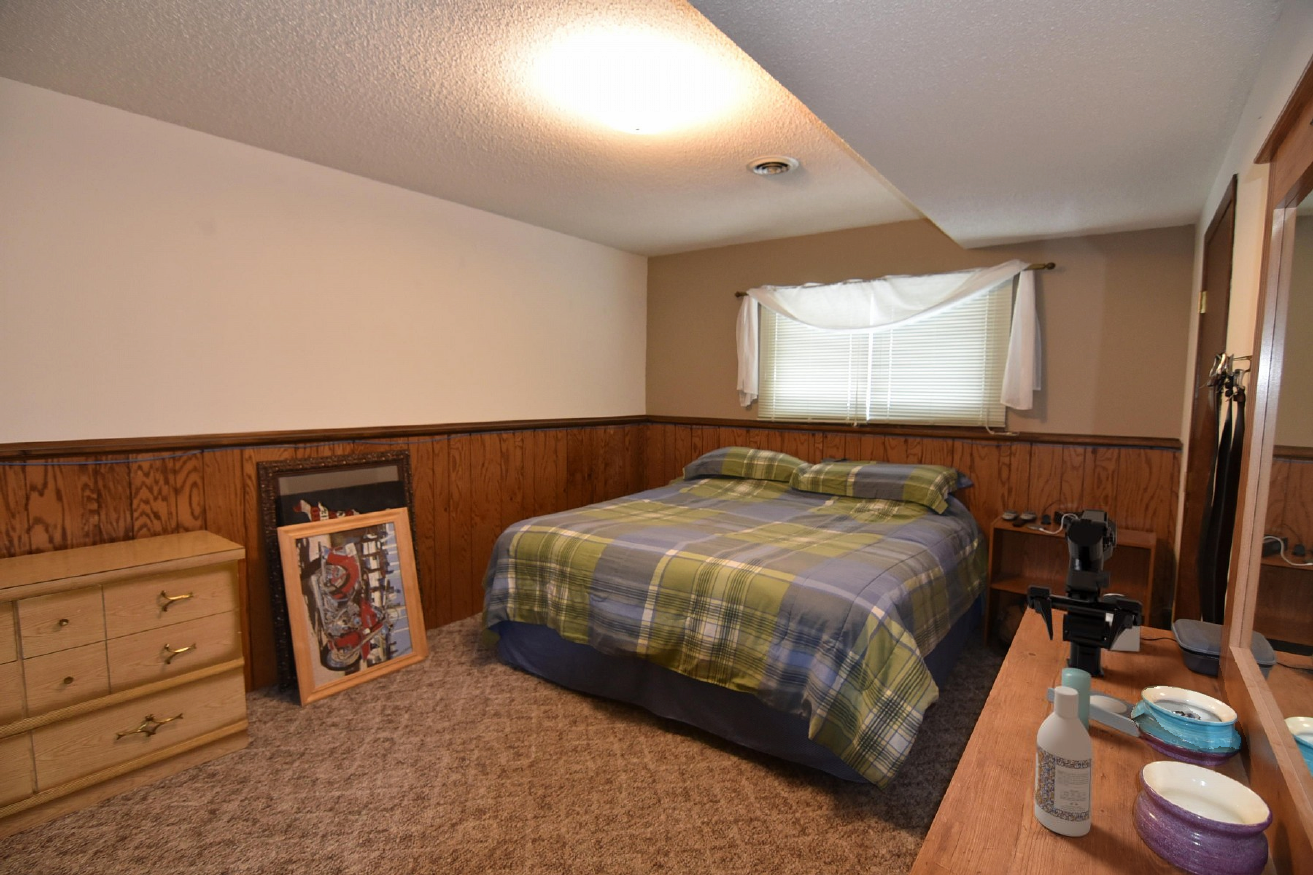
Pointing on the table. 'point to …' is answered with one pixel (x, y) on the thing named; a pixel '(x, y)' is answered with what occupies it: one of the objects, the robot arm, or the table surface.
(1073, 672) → the teal canister
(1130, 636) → the medicine bottle
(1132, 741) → the table surface
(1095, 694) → the mat
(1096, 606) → the robot arm
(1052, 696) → the low wall
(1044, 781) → the bath foam
